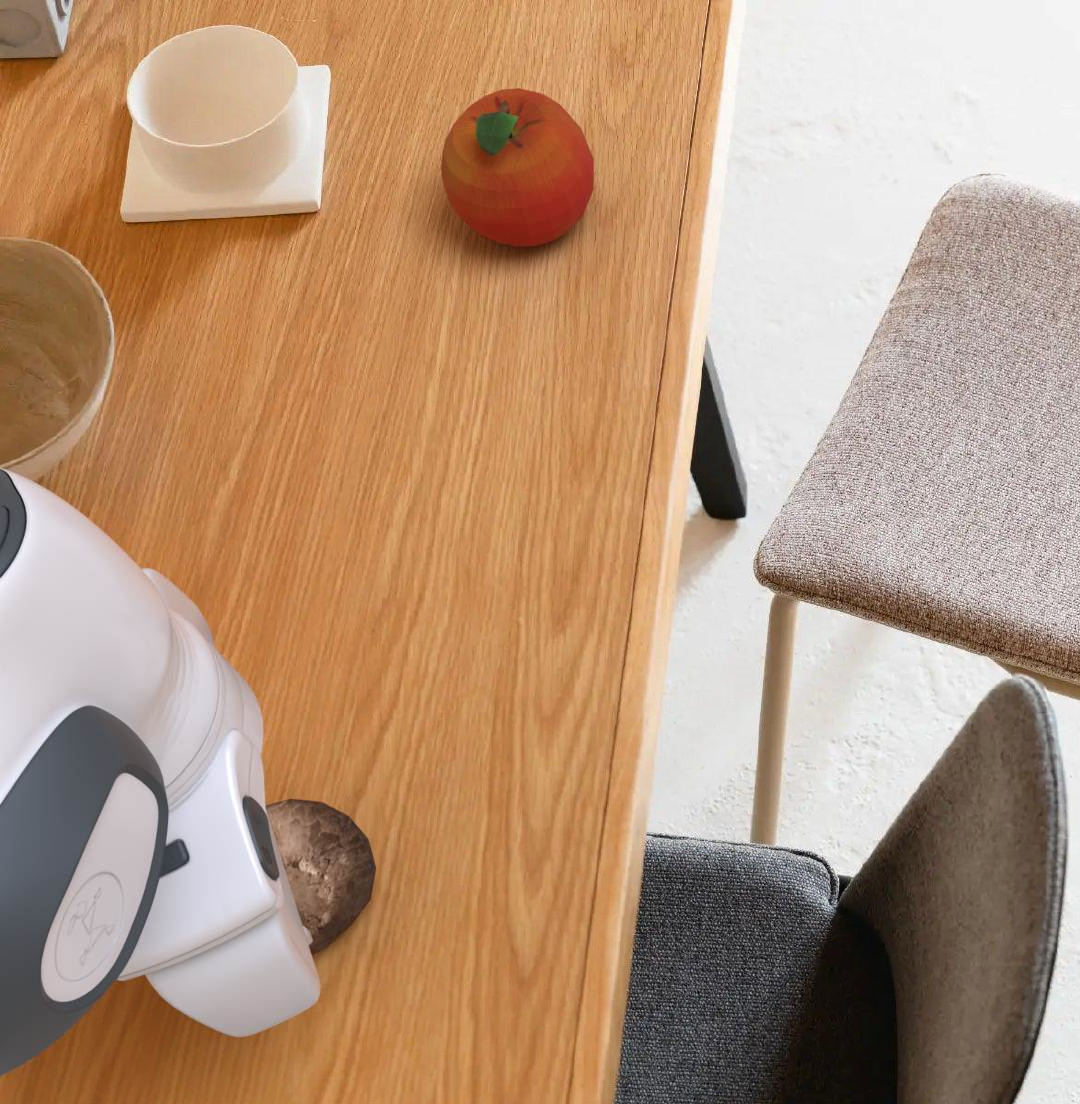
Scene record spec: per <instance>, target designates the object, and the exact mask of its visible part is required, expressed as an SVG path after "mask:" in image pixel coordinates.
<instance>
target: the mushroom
mask: <svg viewBox="0 0 1080 1104" xmlns="http://www.w3.org/2000/svg"><path fill="white" fill-rule="evenodd" d="M265 807H266V810H267V813H268V816H269V820H270V823H271V826H272V829H273V833H274V836H275V839H276V842H277V845H278V849H279V852H280V855H281V858H282V861H283V865H284V868H285V871H286V874H287V878H288V881H289V884H290V887H291V890H292V894H293V897H294V900H295V903H296V906H297V907H298V908H299V910H300V911H301V910H302V911H303V912H304V915H305V918H306V921H307V924H308V927H309V930H310V933H311V936H312V939H313V942H312V943H311V944H310V945H309V948H310V951H311V955H312V956H313V955H315V954H317V953H319V952H321V951H323V950H326V949H328V947H329V946H330V945H332V944H333V943H334V942H335V941H336V940H337V939H338V938H339V937H340V936H342V934H344V933H345V932H346V931H347V930H348V929H350V927H351V926H352V925H353V924H354V922H355V921H356V920H357V918H359V916H360V914H361V913H362V912H363V910H365V908H366V906H367V905H368V904H369V902H370V901H371V900H372V894H373V889H374V883H375V878H376V872H377V865H376V861H375V857H374V855H373V851H372V847H371V843H370V840H369V838H368V836H367V835H366V834H365V833H364V832H363V830H361V828H360V827H359V825H357V823H356V822H355V821H354V820H353V819H352V818H351V817H350V815H347V814H346V813H344V812H342V811H340V810H339V809H336V808H335V807H332V806H330V805H329V804H327V803H325V802H323V801H317V800H308V799H298V798H287V799H283V800H281V801H277V802H273V803H271V804H270V803H269V804H267V805H266V804H265Z"/></svg>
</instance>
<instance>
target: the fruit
mask: <svg viewBox="0 0 1080 1104" xmlns="http://www.w3.org/2000/svg"><path fill="white" fill-rule="evenodd" d="M594 162H595V161H594V156H593V154H592V151H591V149H590V147H589V144H588V142H587V139H586V136H585V134H584V132H583V129H582V128H581V126H580V125H579V124H578V123H577V122H576V120H575V119H574V118H573V117H572V116H571V114H570V113H569V112H568V111H567V110H566V109H565V108H564V107H563V106H562V105H561V104H560V102H559V103H558V102H557V101H555V100H554V99H552V98H551V97H549V96H547V95H546V94H545V93H541V92H538V91H534V90H530V89H529V90H528V89H524V88H519V87H516V88H503V89H499V90H496V91H493V92H491V93H488V94H486V95H484V96H482V97H481V98H479V99H478V100H476V101H475V102H473V103H472V104H470V105H469V107H467V108H466V110H465V111H463V113H462V114H461V115H460V116H459V117H458V118H457V119H456V120H455V122H454V123H453V124H452V126H451V128H450V129H449V132H448V134H447V135H446V138H445V140H444V144H443V149H442V155H441V163H440V173H441V174H440V175H441V179H442V185H443V188H444V190H445V194H446V196H447V200H448V201H449V204H450V205H451V207H452V209H453V210H454V212H455V213H456V215H457V216H458V217H460V219H461V220H462V221H463V222H465V223H466V224H467V225H468V227H470V228H471V229H472V230H473V231H475V233H477V234H478V235H480V236H483V237H484V238H487V239H489V240H491V241H493V242H496V243H499V244H502V245H507V246H511V247H517V248H523V247H536V246H537V247H538V246H541V245H544V244H548V243H551V242H554V241H555V240H556V239H558V238H560V237H562V236H564V235H566V233H568V232H569V231H570V230H571V229H572V228H573V227H574V226H575V225H576V224H577V223H578V221H580V219H582V217H583V216H584V213H585V212H586V209H587V207H588V205H589V203H590V200H591V197H592V194H593V192H594V185H595V184H594V180H595V165H594Z"/></svg>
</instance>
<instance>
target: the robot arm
mask: <svg viewBox="0 0 1080 1104" xmlns="http://www.w3.org/2000/svg"><path fill="white" fill-rule="evenodd" d="M264 728H265V727H264V720H263V715H262V709H261V706H260V703H259V700H258V698H257V696H256V695H255V693H254V690H253V689H252V687H251V686H250V684H249V683H248V682H247V680H246V679H245V678H244V677H243V676H242V675H241V674H240V673H239V671H238V670H236V668H235V667H234V666H233V665H232V664H231V663H230V662H229V661H228V659H226V658H225V657H224V655H222V654H221V653H220V651H219V650H218V649H217V647H216V643H215V640H214V636H213V633H212V631H211V628H210V626H209V624H208V621H207V619H206V618H205V617H204V614H203V613H202V611H201V610H200V608H199V607H198V605H197V604H196V603H195V602H194V601H193V600H192V599H191V598H190V597H189V596H187V594H185V592H183V591H182V590H181V589H180V588H179V587H178V586H177V585H176V584H174V583H173V582H172V581H171V580H170V579H169V578H167V577H166V576H165V575H163V574H162V573H161V572H159V571H157V570H155V569H154V568H150V567H143V568H141V567H140V565H138V564H137V563H136V562H135V560H133V559H132V558H131V557H130V555H129V554H128V553H127V552H126V551H125V550H124V549H123V548H122V547H121V546H120V545H119V544H117V542H116V541H115V540H114V539H113V538H111V537H110V536H109V535H108V534H107V533H106V532H105V531H104V530H103V529H102V528H101V527H99V526H98V525H97V524H96V523H94V522H93V521H92V520H91V519H90V518H88V517H87V516H86V515H85V514H83V513H82V512H81V511H80V510H78V509H77V508H75V506H73V505H72V504H70V502H67V501H66V500H65V499H63V498H62V497H60V496H59V495H57V494H56V493H54V492H52V491H51V490H50V489H47V488H46V487H44V486H42V485H41V484H39V483H37V482H35V481H34V480H31V479H30V478H28V477H26V476H23V475H21V474H19V473H16V472H14V471H12V470H9V469H6V468H2V467H0V1077H2V1076H3V1075H6V1074H8V1073H10V1072H12V1071H14V1070H15V1069H17V1068H20V1067H22V1066H23V1065H25V1064H27V1063H28V1062H29V1061H32V1059H34V1058H36V1057H37V1056H38V1055H40V1054H42V1053H43V1052H45V1050H47V1049H48V1048H50V1046H52V1045H53V1044H55V1043H56V1042H57V1041H58V1040H60V1038H62V1037H63V1036H64V1035H65V1034H66V1033H68V1032H69V1031H70V1030H71V1029H72V1028H73V1027H74V1026H75V1025H76V1024H77V1023H78V1022H79V1021H80V1020H81V1019H82V1018H83V1017H84V1016H85V1015H87V1013H88V1012H89V1011H90V1010H91V1009H92V1008H93V1007H94V1006H95V1005H96V1004H97V1003H98V1001H99V1000H100V999H101V998H102V997H103V996H104V994H105V993H107V992H108V990H109V989H110V988H111V987H112V986H113V984H114V983H115V982H116V981H120V982H125V981H129V980H132V979H135V978H138V977H141V976H145V978H146V979H147V981H148V982H149V984H150V985H151V987H152V988H153V989H154V990H155V991H156V992H157V994H158V995H159V996H160V997H161V998H162V999H163V1000H164V1001H165V1002H167V1003H168V1005H170V1006H171V1007H173V1008H174V1009H175V1010H177V1011H179V1012H180V1013H182V1014H183V1015H185V1016H187V1017H188V1018H191V1019H193V1020H194V1021H196V1022H198V1023H200V1024H201V1025H204V1026H206V1027H207V1028H210V1029H212V1030H214V1031H217V1032H219V1033H220V1034H221V1033H222V1034H224V1035H226V1036H229V1037H234V1038H245V1037H249V1036H252V1035H256V1034H259V1033H261V1032H263V1031H266V1030H268V1029H271V1028H273V1027H275V1026H277V1025H279V1024H282V1023H284V1022H286V1021H288V1020H290V1019H293V1018H295V1017H296V1016H298V1015H300V1014H301V1013H304V1012H305V1011H307V1010H308V1009H310V1008H311V1007H313V1006H315V1004H316V1003H317V1002H318V1001H319V999H320V995H321V990H322V984H321V979H320V976H319V972H318V970H317V967H316V964H315V962H314V958H313V955H311V951H310V948H309V945H310V944H311V943H312V942H313V939H312V936H311V933H310V930H309V927H308V924H307V921H306V918H305V915H304V912H303V911H302V910H301V911H300V910H299V908H298V907H297V906H296V903H295V900H294V897H293V894H292V890H291V887H290V884H289V881H288V878H287V874H286V871H285V868H284V865H283V861H282V858H281V855H280V852H279V849H278V845H277V842H276V839H275V836H274V833H273V829H272V826H271V823H270V820H269V816H268V813H267V810H266V807H265V806H266V789H265V788H266V787H265V769H264V763H263V759H262V752H263V748H264V747H263V746H264V733H265V731H264V730H265V729H264Z"/></svg>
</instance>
